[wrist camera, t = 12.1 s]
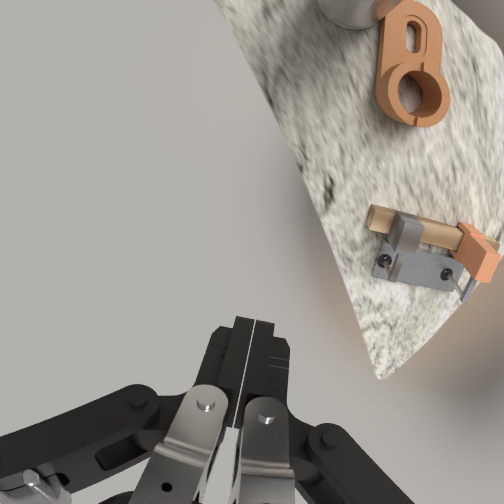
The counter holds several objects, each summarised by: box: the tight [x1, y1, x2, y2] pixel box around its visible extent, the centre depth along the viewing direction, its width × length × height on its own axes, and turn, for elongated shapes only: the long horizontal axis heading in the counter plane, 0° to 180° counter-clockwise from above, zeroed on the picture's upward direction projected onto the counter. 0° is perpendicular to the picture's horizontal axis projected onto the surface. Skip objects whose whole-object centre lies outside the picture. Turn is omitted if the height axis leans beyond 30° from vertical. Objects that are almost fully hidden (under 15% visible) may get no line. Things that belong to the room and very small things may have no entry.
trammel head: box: [447, 222, 501, 303], centre depth 41 cm, size 10×3×10 cm, turn 171°
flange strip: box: [372, 240, 464, 292], centre depth 47 cm, size 6×16×1 cm, turn 81°
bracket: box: [375, 0, 450, 127], centre depth 31 cm, size 18×8×7 cm, turn 175°
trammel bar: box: [366, 205, 500, 282], centre depth 43 cm, size 9×24×7 cm, turn 81°
